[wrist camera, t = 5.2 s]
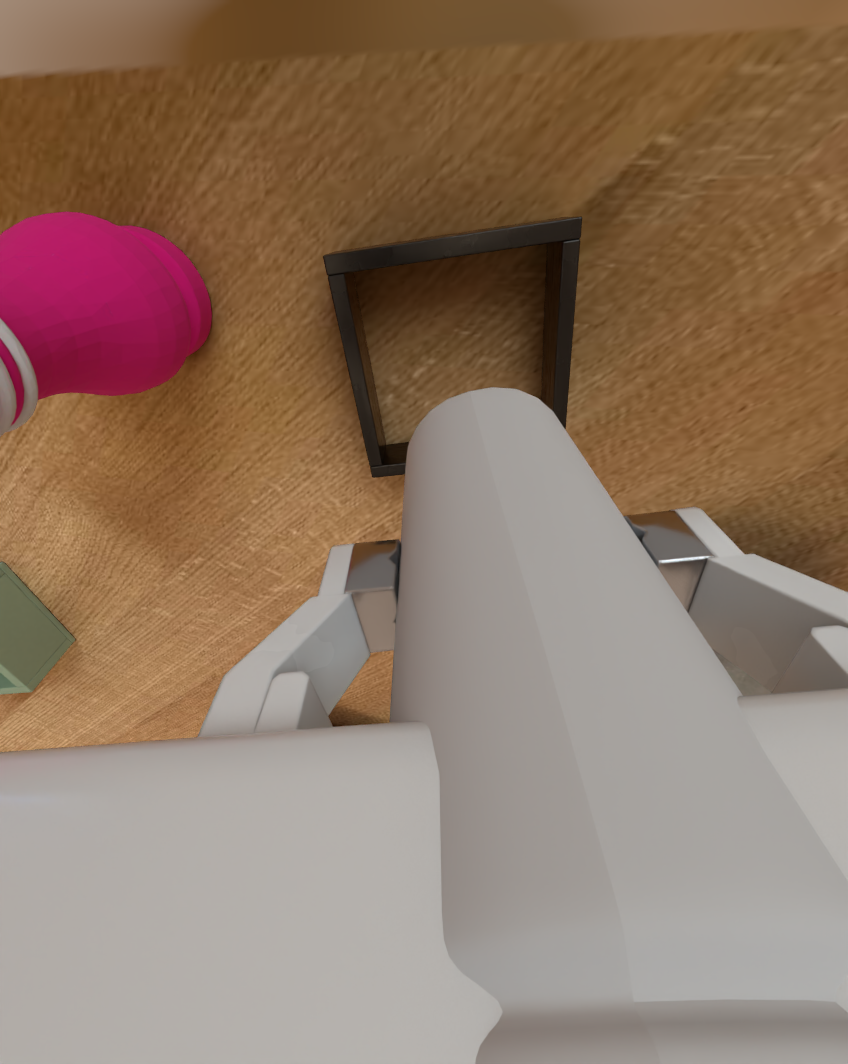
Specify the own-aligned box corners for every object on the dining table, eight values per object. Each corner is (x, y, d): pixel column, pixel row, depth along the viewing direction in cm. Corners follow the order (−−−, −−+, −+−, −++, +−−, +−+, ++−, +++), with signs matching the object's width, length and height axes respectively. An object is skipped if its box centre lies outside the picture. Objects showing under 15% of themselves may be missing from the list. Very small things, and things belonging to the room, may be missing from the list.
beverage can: (523, 532, 15) (705, 1096, 5) (390, 502, 14) (326, 1101, 5) (590, 404, 12) (1209, 1095, 3) (430, 357, 11) (476, 1104, 2)
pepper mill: (243, 282, 22) (-218, 437, 6) (195, 391, 26) (-183, 671, 10) (97, 174, 20) (-1305, -26, 4) (65, 311, 23) (-743, 513, 7)
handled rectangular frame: (333, 251, 22) (322, 255, 19) (563, 217, 21) (582, 216, 18) (396, 554, 34) (395, 580, 31) (545, 540, 33) (555, 565, 30)
